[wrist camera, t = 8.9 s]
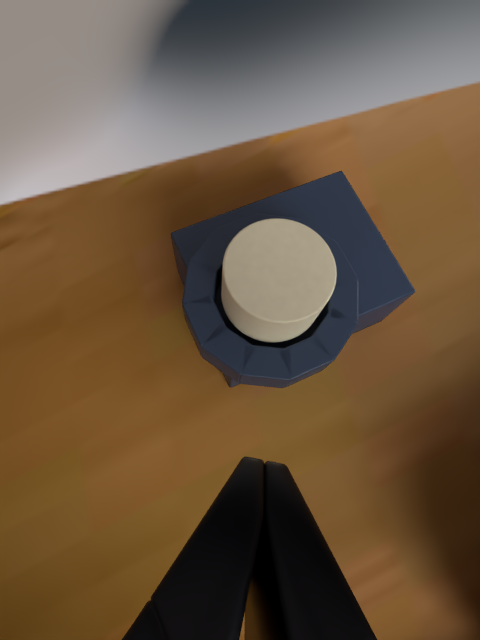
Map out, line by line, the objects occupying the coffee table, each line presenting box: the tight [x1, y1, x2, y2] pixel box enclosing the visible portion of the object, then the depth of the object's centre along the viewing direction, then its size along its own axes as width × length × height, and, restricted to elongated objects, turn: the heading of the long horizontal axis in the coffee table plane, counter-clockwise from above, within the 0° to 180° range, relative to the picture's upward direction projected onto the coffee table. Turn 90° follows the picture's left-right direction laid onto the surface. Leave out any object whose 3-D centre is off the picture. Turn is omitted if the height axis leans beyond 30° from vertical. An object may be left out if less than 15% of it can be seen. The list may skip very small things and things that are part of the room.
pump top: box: [221, 218, 337, 343], centre depth 16 cm, size 4×4×3 cm
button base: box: [171, 171, 415, 388], centre depth 20 cm, size 10×8×6 cm
